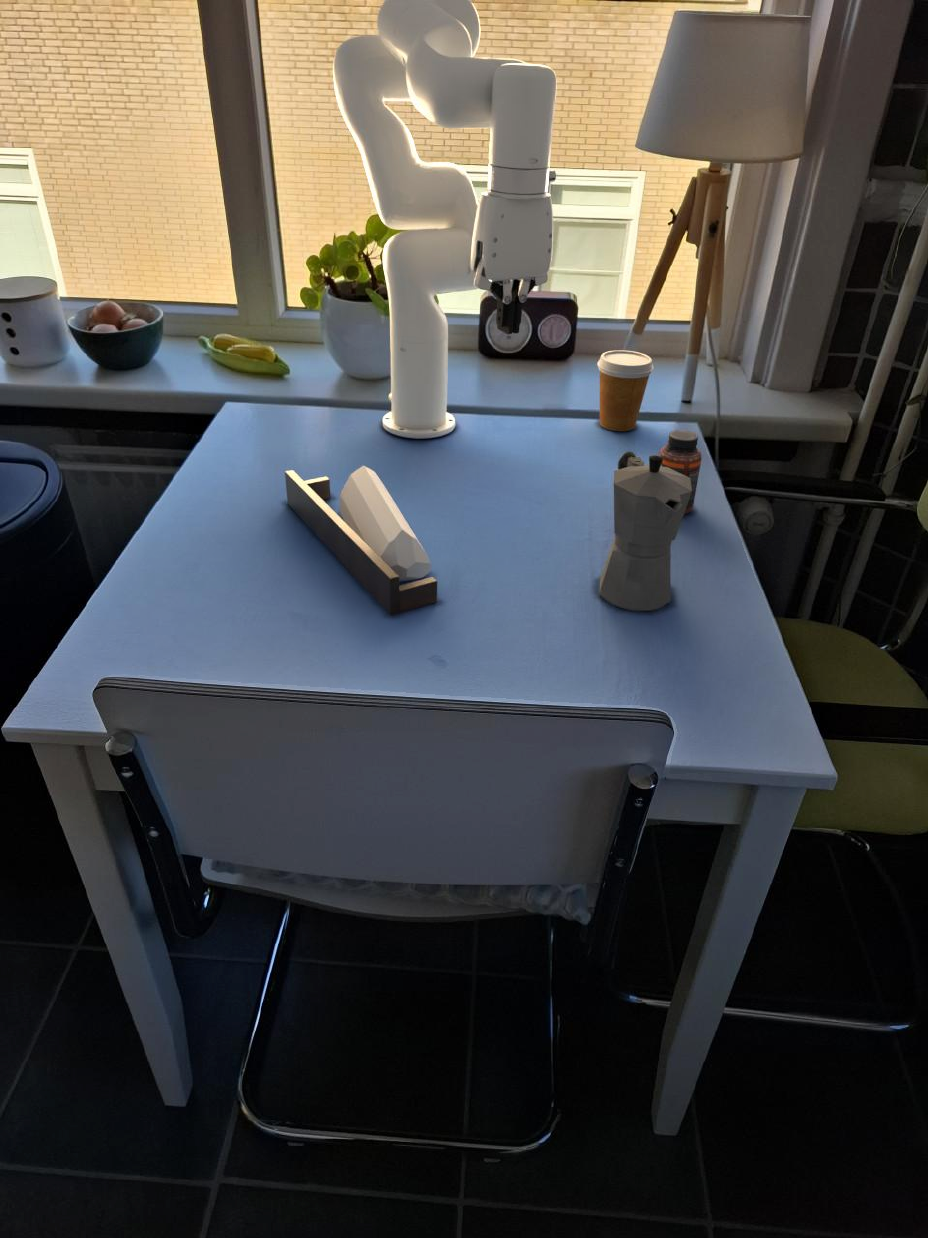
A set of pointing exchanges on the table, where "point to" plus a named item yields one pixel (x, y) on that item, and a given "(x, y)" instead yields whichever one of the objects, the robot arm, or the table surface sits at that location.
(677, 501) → the coffeepot
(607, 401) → the disposable coffee cup
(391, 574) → the frame
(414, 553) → the crystal
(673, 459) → the supplement bottle
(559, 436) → the table surface
